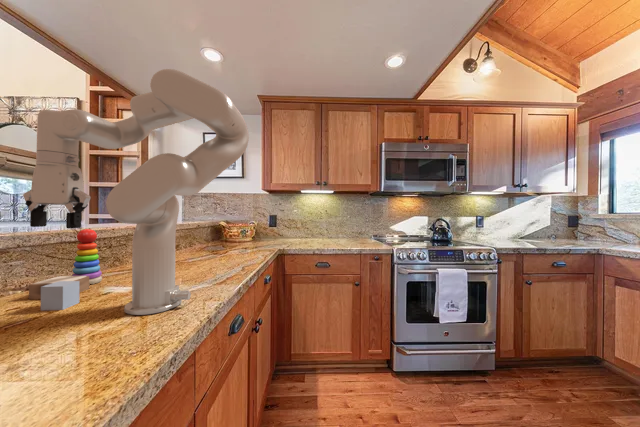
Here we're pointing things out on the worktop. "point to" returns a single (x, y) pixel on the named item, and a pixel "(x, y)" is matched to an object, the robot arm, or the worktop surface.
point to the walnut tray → (36, 287)
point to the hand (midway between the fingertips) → (56, 227)
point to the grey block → (59, 295)
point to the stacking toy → (87, 257)
